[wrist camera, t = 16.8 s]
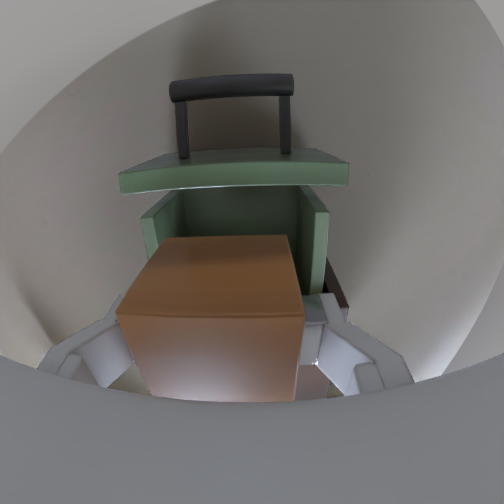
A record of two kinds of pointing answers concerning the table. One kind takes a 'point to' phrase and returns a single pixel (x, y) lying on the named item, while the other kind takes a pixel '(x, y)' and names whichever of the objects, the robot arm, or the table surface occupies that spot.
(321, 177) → the drawer
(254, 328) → the block
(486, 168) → the table surface
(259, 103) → the table surface
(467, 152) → the table surface
